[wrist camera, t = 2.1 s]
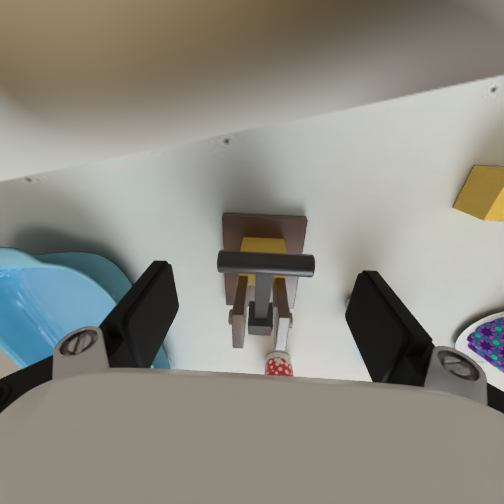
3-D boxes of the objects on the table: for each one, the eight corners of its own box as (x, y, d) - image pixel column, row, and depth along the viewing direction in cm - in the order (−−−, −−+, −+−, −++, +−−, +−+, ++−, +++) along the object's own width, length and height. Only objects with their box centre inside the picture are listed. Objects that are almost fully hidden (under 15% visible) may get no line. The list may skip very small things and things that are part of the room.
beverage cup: (271, 344, 38) (274, 446, 26) (301, 356, 39) (317, 458, 27) (256, 363, 41) (251, 462, 29) (284, 373, 42) (291, 473, 30)
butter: (243, 236, 26) (238, 257, 22) (284, 238, 26) (287, 260, 22) (242, 260, 28) (238, 284, 24) (281, 262, 28) (284, 287, 24)
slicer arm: (220, 238, 13) (214, 273, 12) (312, 242, 13) (317, 278, 11) (234, 310, 23) (231, 333, 21) (286, 313, 23) (287, 337, 21)
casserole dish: (-29, 233, 30) (-106, 260, 24) (120, 216, 27) (77, 242, 21) (98, 384, 48) (72, 422, 41) (194, 382, 45) (183, 423, 39)
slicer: (223, 212, 26) (196, 265, 16) (306, 216, 26) (332, 272, 16) (227, 299, 33) (210, 375, 23) (292, 303, 33) (304, 382, 23)
